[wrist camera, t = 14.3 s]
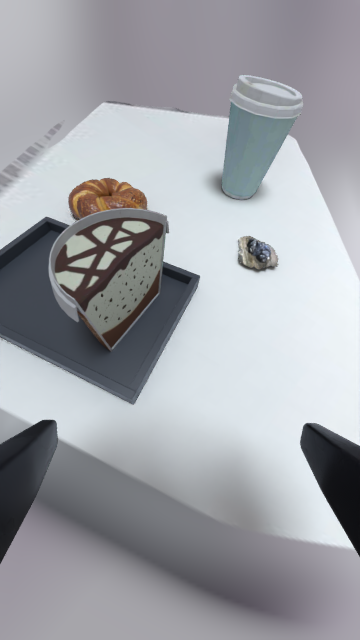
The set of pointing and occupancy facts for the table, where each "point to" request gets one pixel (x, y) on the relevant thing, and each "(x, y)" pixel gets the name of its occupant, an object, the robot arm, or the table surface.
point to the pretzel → (104, 197)
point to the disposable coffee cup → (256, 131)
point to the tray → (75, 337)
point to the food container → (109, 269)
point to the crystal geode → (256, 253)
